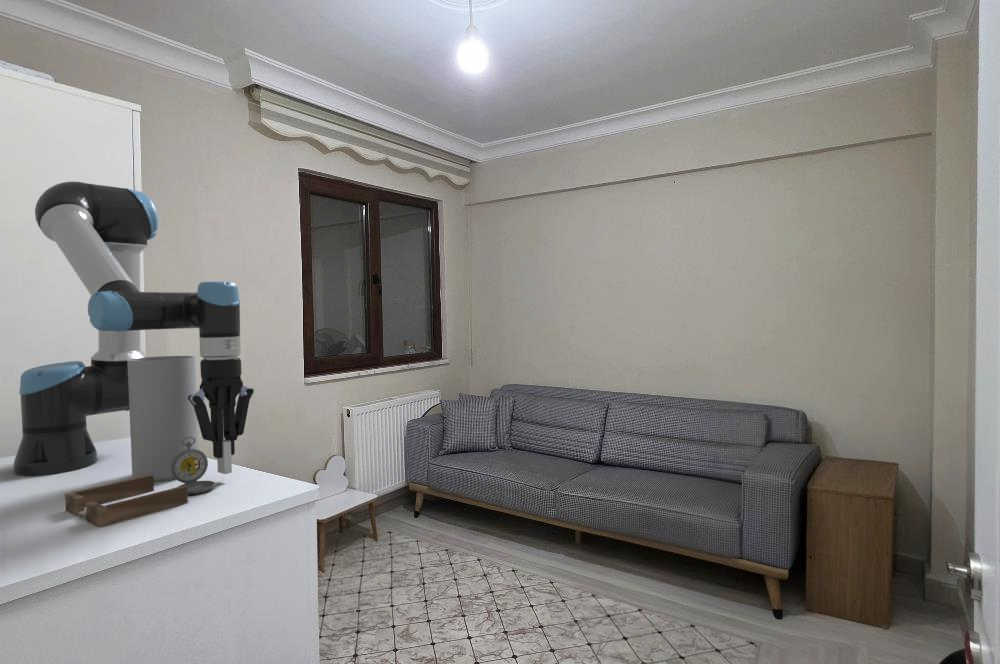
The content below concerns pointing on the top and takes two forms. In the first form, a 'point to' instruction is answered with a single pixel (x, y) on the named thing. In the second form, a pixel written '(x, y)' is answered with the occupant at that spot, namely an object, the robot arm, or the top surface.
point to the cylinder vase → (161, 413)
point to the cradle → (123, 509)
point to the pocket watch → (191, 469)
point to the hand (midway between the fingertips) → (224, 472)
